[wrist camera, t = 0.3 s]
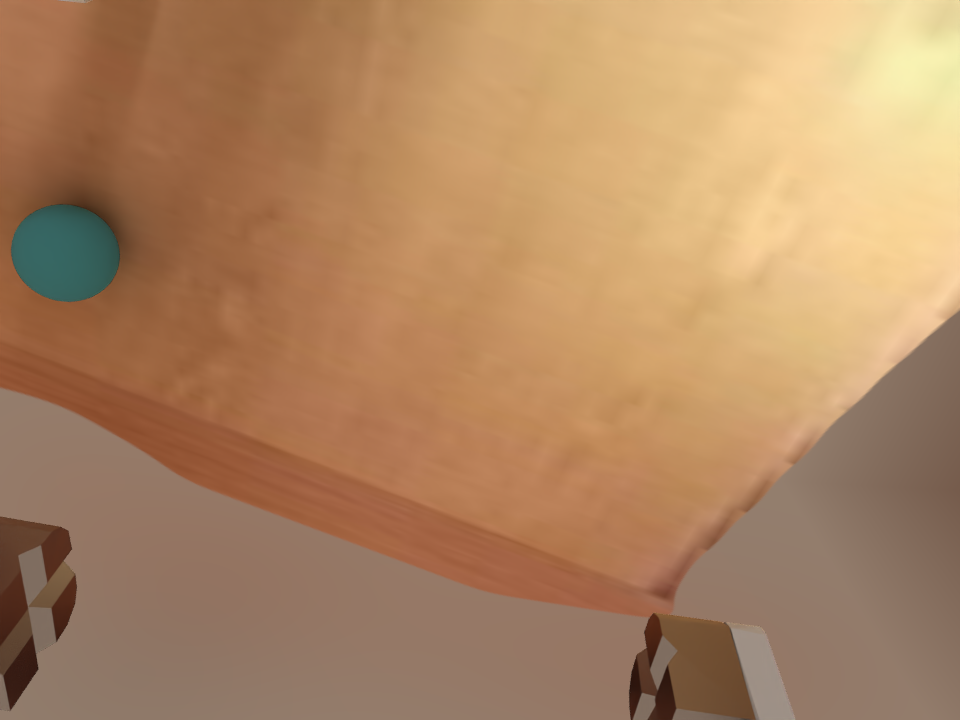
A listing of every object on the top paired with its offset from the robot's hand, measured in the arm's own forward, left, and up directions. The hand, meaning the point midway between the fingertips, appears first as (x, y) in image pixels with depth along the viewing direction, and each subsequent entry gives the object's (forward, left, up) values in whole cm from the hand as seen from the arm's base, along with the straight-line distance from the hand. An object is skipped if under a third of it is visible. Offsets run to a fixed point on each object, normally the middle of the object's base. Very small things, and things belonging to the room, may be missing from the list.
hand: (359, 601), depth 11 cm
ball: (+16, -25, -36) cm, 47 cm away
